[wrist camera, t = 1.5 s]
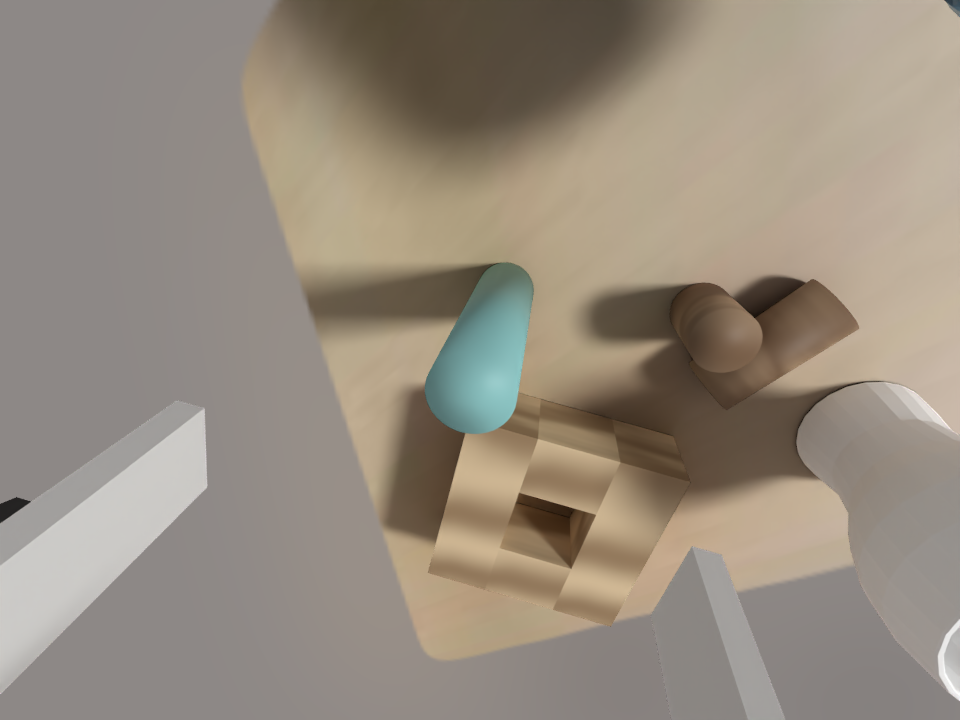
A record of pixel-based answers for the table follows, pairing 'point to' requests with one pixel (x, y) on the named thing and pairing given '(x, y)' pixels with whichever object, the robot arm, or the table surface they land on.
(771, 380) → the pin medium
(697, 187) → the table surface
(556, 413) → the hole block
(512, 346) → the pin long
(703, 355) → the pin short
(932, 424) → the cup
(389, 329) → the table surface
